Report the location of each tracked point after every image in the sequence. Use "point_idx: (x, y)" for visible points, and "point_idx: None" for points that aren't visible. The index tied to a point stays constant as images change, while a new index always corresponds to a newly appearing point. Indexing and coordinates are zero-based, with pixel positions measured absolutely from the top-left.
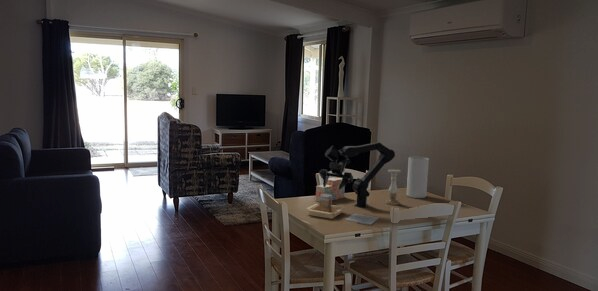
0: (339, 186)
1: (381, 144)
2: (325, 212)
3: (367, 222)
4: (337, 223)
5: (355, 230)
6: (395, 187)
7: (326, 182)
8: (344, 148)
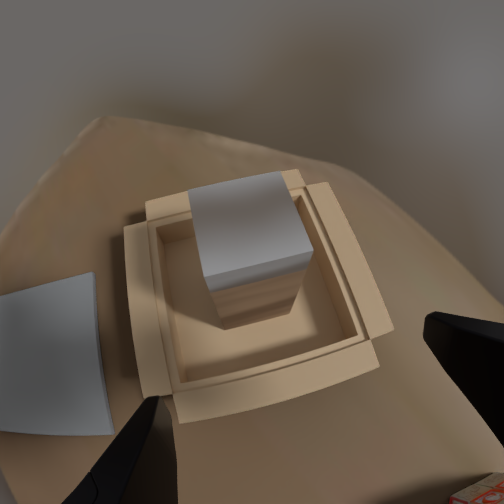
0: (153, 416)
1: None
2: (183, 201)
3: (3, 309)
4: (107, 215)
5: (29, 202)
6: None
7: (493, 410)
8: None
